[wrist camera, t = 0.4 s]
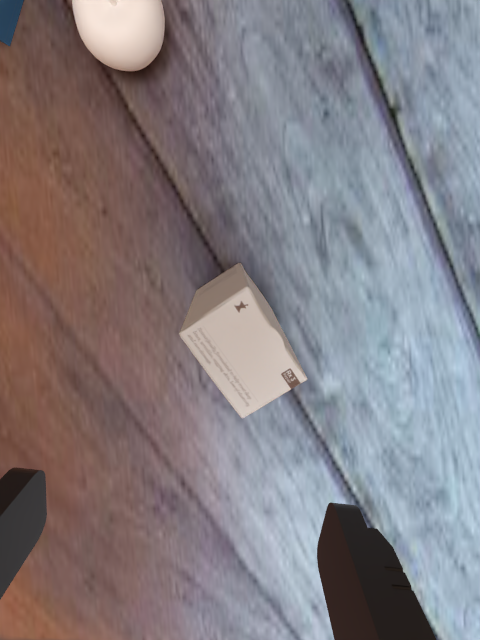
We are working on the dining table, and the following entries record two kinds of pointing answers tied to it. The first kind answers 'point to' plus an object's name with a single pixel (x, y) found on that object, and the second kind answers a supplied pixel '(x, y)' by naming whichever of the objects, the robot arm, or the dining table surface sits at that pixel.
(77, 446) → the dining table surface
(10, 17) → the perfume bottle
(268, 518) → the dining table surface
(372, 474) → the dining table surface
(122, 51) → the plain white apple
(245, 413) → the skincare box
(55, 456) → the dining table surface
